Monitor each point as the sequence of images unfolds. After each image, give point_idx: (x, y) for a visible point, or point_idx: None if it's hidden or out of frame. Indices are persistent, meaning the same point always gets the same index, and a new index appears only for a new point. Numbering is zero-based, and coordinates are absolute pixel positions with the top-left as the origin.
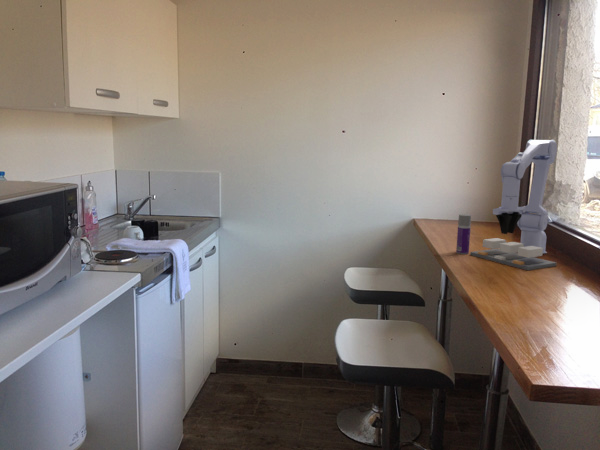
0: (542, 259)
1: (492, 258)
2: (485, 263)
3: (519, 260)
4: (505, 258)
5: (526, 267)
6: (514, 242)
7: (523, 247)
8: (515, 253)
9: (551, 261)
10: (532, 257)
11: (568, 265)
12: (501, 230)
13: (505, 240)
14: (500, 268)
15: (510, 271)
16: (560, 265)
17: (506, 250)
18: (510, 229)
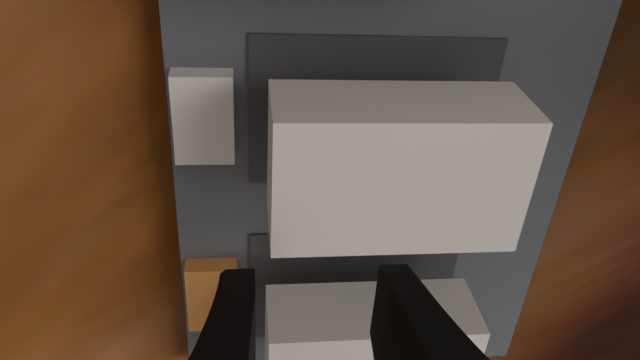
0: (527, 269)
1: (164, 41)
2: (8, 77)
3: None
4: (252, 142)
5: (189, 356)
6: (504, 159)
7: (324, 355)
8: (587, 14)
9: (513, 326)
10: (536, 197)
11: (580, 350)
12: (213, 308)
13: None
14: (23, 252)
15: (38, 330)
16: (537, 335)
17: (268, 182)
18: (388, 349)
